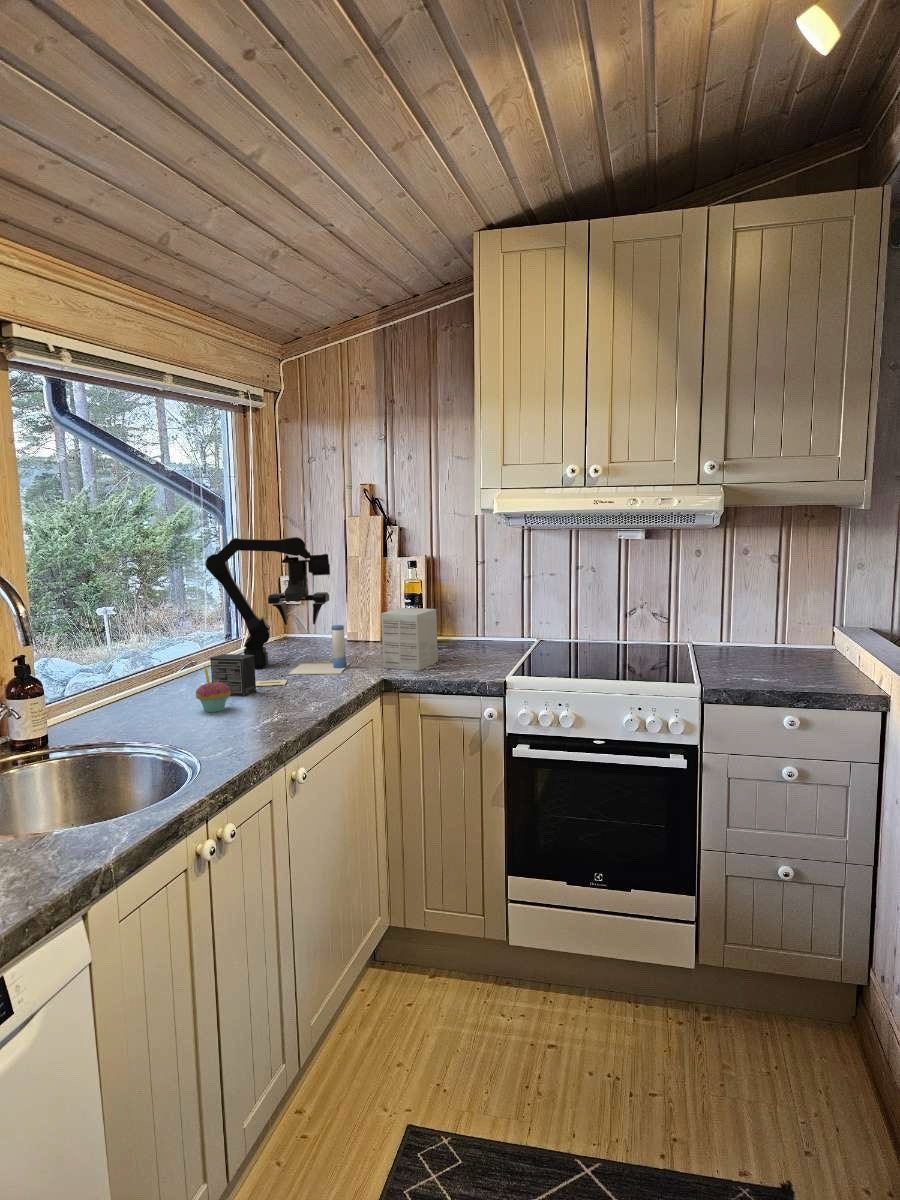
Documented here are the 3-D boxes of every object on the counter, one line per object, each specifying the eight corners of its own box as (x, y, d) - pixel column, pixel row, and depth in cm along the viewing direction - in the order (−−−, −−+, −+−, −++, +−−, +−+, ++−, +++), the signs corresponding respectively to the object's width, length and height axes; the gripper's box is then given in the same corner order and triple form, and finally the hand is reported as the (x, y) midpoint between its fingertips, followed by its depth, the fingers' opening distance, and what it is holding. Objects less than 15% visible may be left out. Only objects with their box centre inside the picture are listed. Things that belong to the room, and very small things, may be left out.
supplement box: (402, 660, 255) (400, 607, 253) (438, 662, 250) (437, 608, 248) (382, 668, 244) (380, 612, 241) (419, 671, 238) (417, 614, 236)
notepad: (288, 674, 237) (288, 673, 237) (302, 664, 253) (302, 662, 253) (340, 674, 236) (340, 672, 236) (350, 663, 252) (350, 661, 252)
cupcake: (212, 715, 193) (209, 668, 191) (189, 711, 197) (186, 665, 196) (238, 707, 200) (235, 661, 198) (215, 704, 204) (212, 659, 203)
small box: (257, 691, 218) (255, 654, 216) (244, 696, 212) (242, 658, 210) (225, 689, 221) (223, 652, 220) (211, 694, 215) (208, 657, 214)
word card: (252, 687, 222) (252, 685, 222) (255, 682, 228) (255, 680, 228) (285, 685, 223) (284, 684, 223) (287, 681, 229) (287, 679, 229)
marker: (334, 668, 243) (331, 627, 241) (332, 666, 247) (329, 625, 245) (347, 667, 244) (345, 626, 242) (345, 664, 248) (343, 624, 246)
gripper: (261, 579, 243) (264, 629, 244) (320, 578, 241) (322, 628, 243) (271, 576, 254) (274, 623, 255) (328, 574, 252) (330, 622, 254)
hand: (300, 624), depth 252 cm, fingers open, 9 cm apart
